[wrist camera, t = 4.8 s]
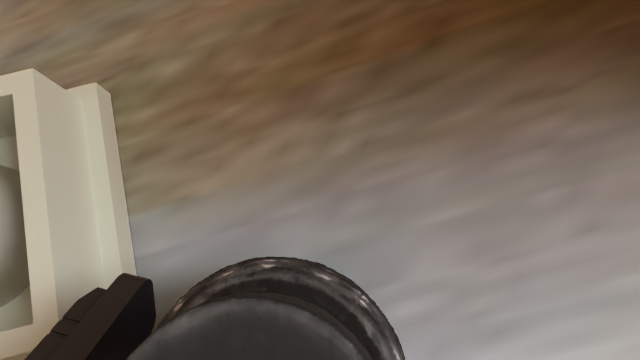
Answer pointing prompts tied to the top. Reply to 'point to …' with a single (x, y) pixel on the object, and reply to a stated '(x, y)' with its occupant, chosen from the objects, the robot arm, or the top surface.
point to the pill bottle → (273, 317)
